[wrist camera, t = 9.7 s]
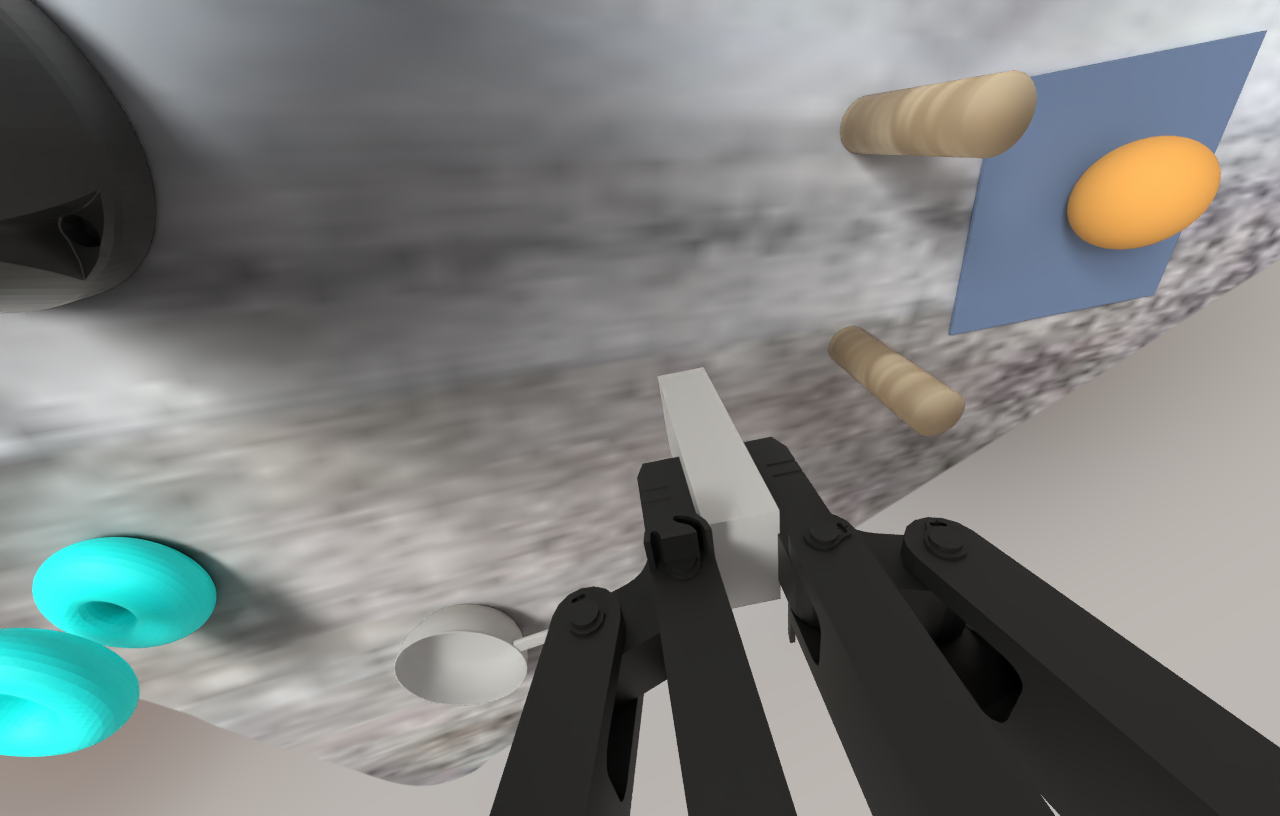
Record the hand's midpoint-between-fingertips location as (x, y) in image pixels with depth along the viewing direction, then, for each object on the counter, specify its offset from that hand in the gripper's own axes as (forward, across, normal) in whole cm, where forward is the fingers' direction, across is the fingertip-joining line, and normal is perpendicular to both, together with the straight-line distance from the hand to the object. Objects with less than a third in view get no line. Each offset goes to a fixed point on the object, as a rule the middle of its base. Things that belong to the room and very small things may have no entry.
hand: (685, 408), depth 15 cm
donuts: (+14, -40, -14) cm, 45 cm away
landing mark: (+14, +27, 0) cm, 30 cm away
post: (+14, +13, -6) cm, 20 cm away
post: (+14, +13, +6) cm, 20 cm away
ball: (+11, +27, +1) cm, 29 cm away
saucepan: (+14, -17, -27) cm, 35 cm away
